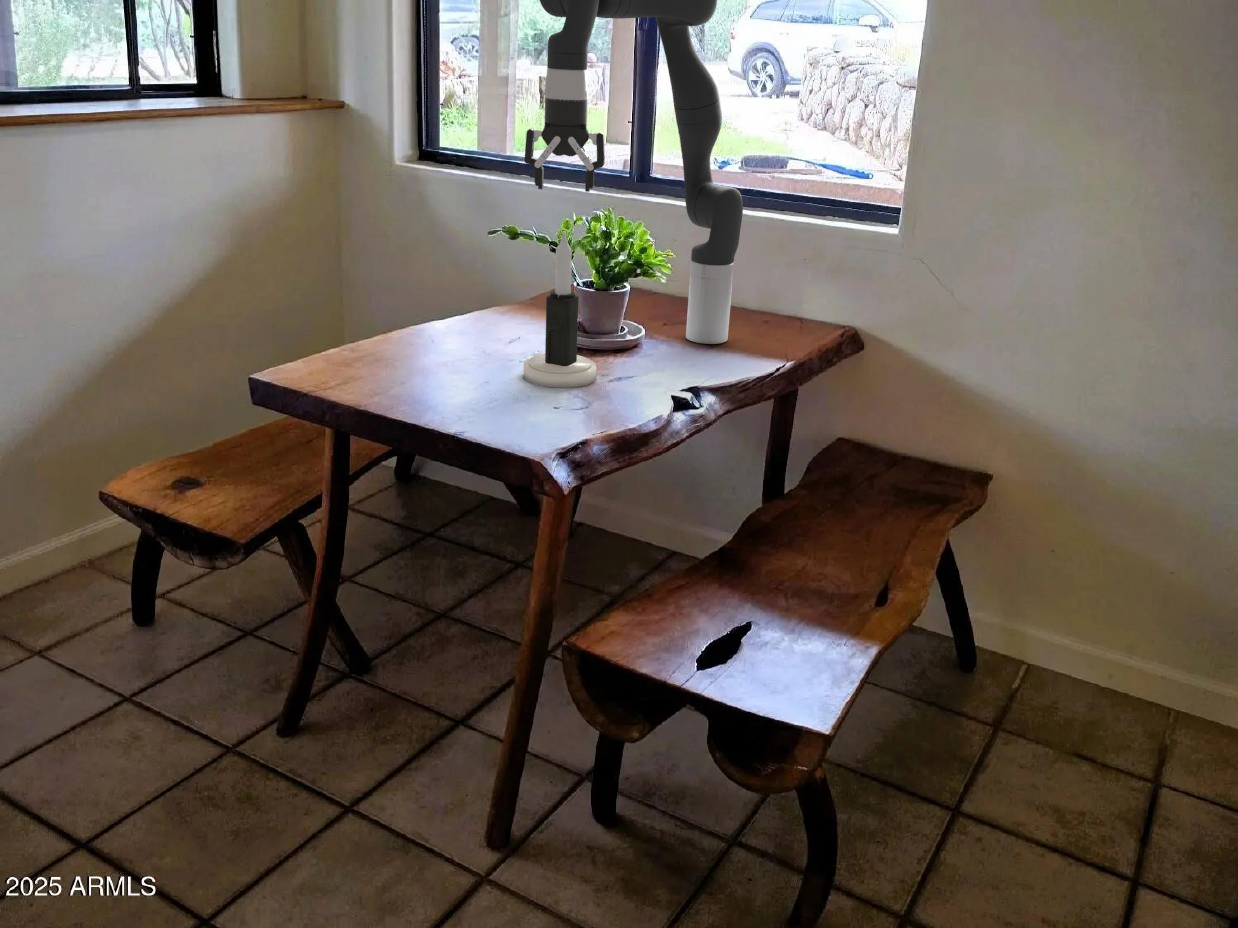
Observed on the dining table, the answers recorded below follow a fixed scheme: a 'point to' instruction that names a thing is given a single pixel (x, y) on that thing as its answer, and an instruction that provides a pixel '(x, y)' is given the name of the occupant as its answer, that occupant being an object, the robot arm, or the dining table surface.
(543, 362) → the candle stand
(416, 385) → the dining table surface
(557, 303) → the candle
